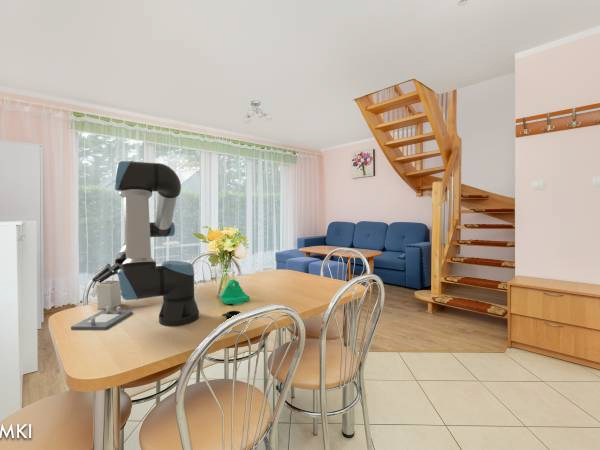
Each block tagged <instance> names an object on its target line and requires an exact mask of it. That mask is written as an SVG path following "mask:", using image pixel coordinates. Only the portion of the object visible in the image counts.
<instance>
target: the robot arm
mask: <svg viewBox="0 0 600 450" xmlns="http://www.w3.org/2000/svg"><path fill="white" fill-rule="evenodd" d="M114 178H115V181H114V190H115V191H117V192H118V193H119V196H120V197H121V198H123V210H124V238H125V239H124V243H123V245H122V247H121V249H120V250H119V252H118V254H117V256H116V258H115V261H114V263H113V264H110V263H106V265H105V267H103V268H102V269H101V270H100V271H99V272H98V273H97V274H96V275H94V277H92V279H91V280H92V281H93V282H94V283H93V285H92V289H91V292H90V293H89V294H90V296H92V297H94V298H96V296H97V284H100V283H102V282H105V281H107V279H109V278H111V277H112V276H114V275H117V277H118V281H119V284H120V289H121V293H120V295H121V299H122V300H124V301H133V300H136V301H138V300H142V299H149V298H157V297H162V298H163V299H162V301H163V302H162V305H161V308H160V311H159V315H158V323H159V324H161V325H164V326H168V327H169V326H170V327H171V326H183V325H188V324H190V323H193V322H195V321H197V320H199V318H200V310H199V307H198V304H197V302H196V299H195V268H194V265H193V264H192V263H191V262H188V261H179V260H166V261H163V262H162V264H161V265H157V261H156V260H155V259H154V258H153V257H152V245H151V238H167V237H173V236H175V232H176V225H175V223H174V222H173V218H174V213H175V207H176V203H177V197H178V196H179V195H180V193H181V190H182V183H181V180H180V178H179V176H178V174H177V173H176V172H175V170H174V169H173V168H171V167H170V166H168V165H167V164H164V163H159V162H143V161H133V160H130V161H128V160H127V161H126V160H122V161H119V162H118V163H117V166H116V171H115V177H114ZM153 192H157V194H158V197H157V206H156V212H155V213H156V214H155V219H154V220H155V221H153V222H151V221H150V205H149V204H150V203H149V199H150V198H151V197H152V196H153Z"/></svg>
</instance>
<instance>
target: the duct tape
mask: <svg viewBox="0 0 600 450" xmlns="http://www.w3.org/2000/svg"><path fill="white" fill-rule="evenodd" d="M239 313H241V314H242V312H241V311H239V310H230V311H227V312H225V313H223V314H222V315H221V317H225V321H226V320H227V319H229V318H231V317H232V316H234V315H237V314H239Z"/></svg>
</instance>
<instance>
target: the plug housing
mask: <svg viewBox="0 0 600 450" xmlns="http://www.w3.org/2000/svg"><path fill="white" fill-rule="evenodd" d="M120 293H121V289H120V284H119V280H104V281H103V282H101V283H100V284H97V294H96V296H97V299H96V300H97V310H106V307H110V310H112V309H115V308H117V307H120V305H122V296H121V295H120Z"/></svg>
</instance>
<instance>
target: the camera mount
mask: <svg viewBox="0 0 600 450" xmlns="http://www.w3.org/2000/svg"><path fill="white" fill-rule="evenodd" d="M250 298H251V297H250V295H248V294H246V293H245V291H244V290H243V288H242V287H241V285H240V282H239V281H238V280H235V279H230V280H229V281H228V283H227V284H226V286H225V288H224V290H223V292H222V293H221V296H220V301H221V302H222V303H224V304H226V305H230V304H232V305H234V306H237V305H241V304H244V302H247V301H250V300H251V299H250Z"/></svg>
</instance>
